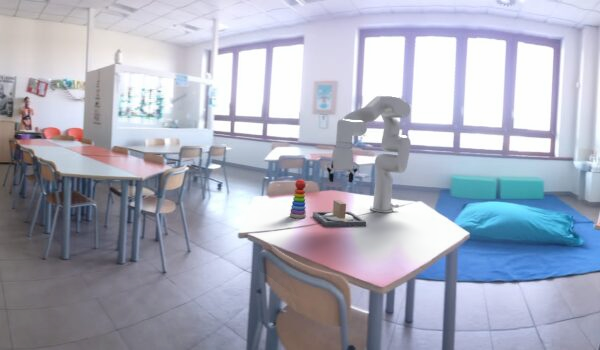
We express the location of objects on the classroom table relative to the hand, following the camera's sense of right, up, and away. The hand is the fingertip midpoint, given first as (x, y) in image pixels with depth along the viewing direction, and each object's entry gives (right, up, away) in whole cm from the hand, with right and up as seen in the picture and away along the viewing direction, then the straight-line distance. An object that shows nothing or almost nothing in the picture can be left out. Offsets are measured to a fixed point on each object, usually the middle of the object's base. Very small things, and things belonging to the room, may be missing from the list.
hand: (340, 181), depth 188 cm
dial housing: (-1, -19, +3) cm, 19 cm away
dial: (-1, -18, +3) cm, 18 cm away
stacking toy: (-21, -18, +7) cm, 28 cm away
